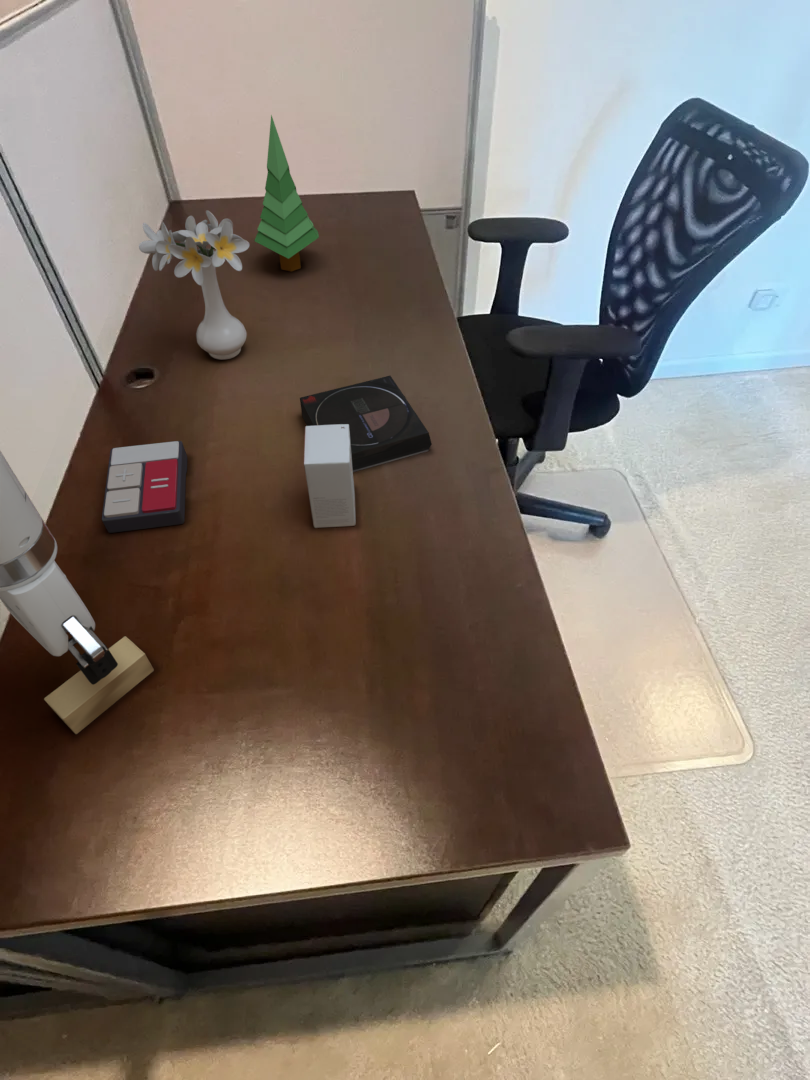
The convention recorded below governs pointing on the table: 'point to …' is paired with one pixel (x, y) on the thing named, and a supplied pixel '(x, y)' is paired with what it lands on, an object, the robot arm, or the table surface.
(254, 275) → the table surface
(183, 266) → the flower vase
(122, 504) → the calculator
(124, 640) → the wood bar
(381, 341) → the table surface
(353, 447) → the portable cd player
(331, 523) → the small box
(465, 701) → the table surface
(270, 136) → the decorative tree
